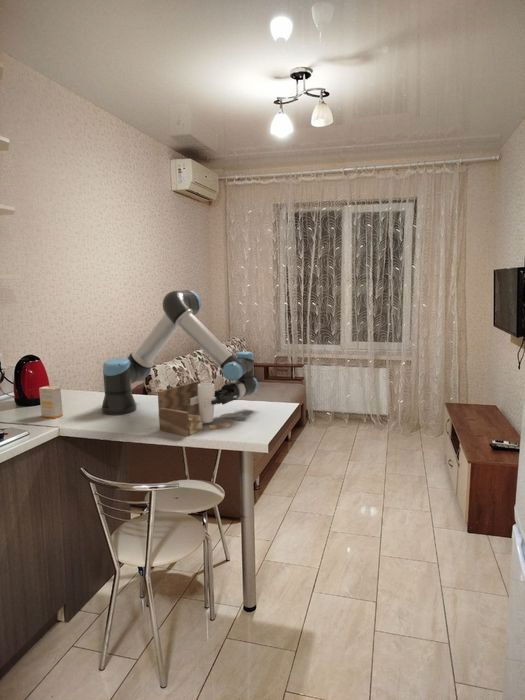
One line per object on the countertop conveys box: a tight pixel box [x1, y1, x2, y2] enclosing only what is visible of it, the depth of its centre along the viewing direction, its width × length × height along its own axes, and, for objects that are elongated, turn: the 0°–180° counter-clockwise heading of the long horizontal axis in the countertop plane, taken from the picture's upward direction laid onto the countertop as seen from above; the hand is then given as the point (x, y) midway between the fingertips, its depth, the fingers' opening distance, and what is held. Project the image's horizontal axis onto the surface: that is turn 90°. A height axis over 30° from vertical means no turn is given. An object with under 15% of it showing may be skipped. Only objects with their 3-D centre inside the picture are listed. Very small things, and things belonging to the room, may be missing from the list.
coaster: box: [218, 412, 246, 422], centre depth 202 cm, size 11×11×1 cm
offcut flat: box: [208, 422, 232, 430], centre depth 186 cm, size 8×4×2 cm, turn 110°
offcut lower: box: [189, 421, 203, 436], centre depth 181 cm, size 7×6×3 cm
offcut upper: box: [188, 414, 201, 426], centre depth 180 cm, size 6×5×2 cm
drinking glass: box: [198, 382, 216, 424], centre depth 188 cm, size 7×7×15 cm
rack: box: [157, 380, 204, 437], centre depth 188 cm, size 24×15×16 cm, turn 148°
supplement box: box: [38, 385, 64, 419], centre depth 208 cm, size 8×5×13 cm, turn 65°
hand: (198, 403), depth 184 cm, fingers closed on drinking glass, 6 cm apart
